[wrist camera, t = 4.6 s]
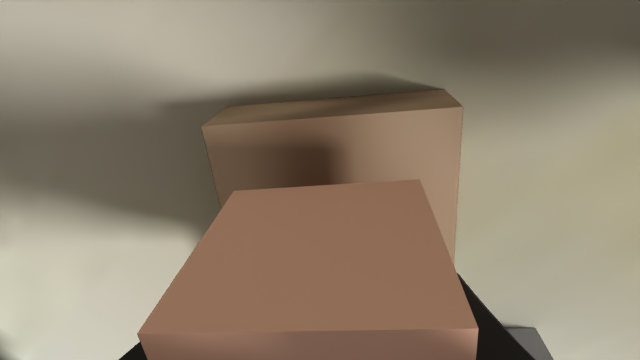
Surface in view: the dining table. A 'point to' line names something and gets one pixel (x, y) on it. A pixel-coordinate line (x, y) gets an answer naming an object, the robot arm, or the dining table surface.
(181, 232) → the dining table surface
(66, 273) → the dining table surface
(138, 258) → the dining table surface
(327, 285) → the terracotta cube
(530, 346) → the slate-grey cube
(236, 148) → the walnut block
